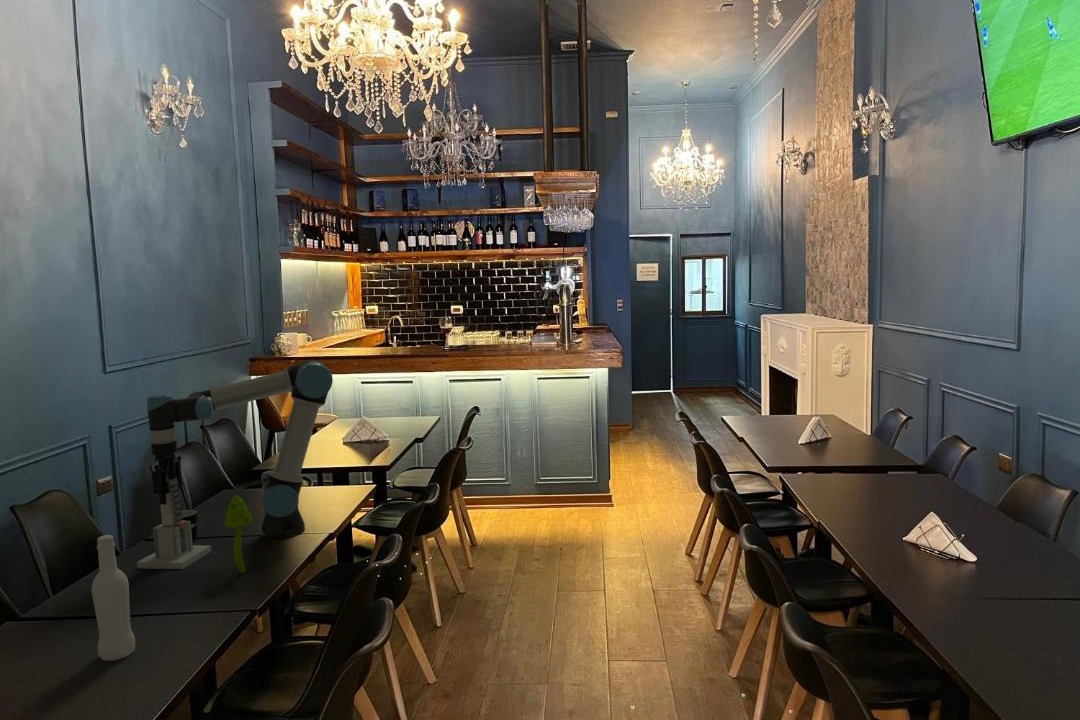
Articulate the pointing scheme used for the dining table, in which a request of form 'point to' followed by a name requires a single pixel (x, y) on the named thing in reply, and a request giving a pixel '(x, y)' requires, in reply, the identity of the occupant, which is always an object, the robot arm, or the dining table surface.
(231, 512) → the mushroom
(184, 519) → the mug
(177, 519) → the column
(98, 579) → the bottle
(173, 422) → the robot arm
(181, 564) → the stand base
